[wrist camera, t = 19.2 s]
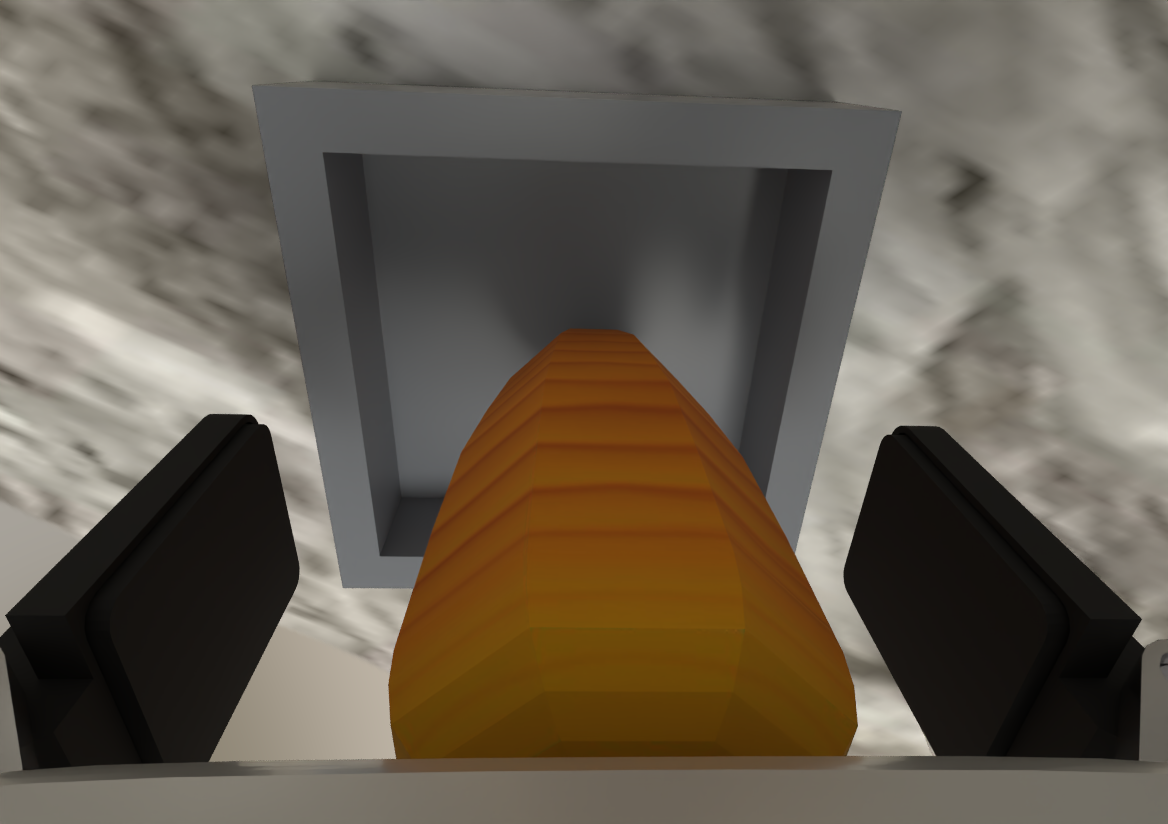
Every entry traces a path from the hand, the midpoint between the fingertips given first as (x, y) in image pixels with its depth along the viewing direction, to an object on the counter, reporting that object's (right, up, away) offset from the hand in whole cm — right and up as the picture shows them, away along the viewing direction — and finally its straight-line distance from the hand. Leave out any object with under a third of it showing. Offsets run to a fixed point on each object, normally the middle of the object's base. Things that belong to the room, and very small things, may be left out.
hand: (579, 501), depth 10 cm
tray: (0, +3, +6) cm, 7 cm away
